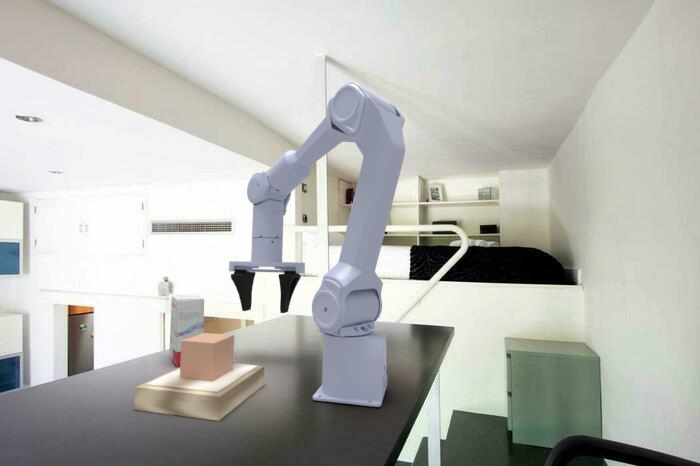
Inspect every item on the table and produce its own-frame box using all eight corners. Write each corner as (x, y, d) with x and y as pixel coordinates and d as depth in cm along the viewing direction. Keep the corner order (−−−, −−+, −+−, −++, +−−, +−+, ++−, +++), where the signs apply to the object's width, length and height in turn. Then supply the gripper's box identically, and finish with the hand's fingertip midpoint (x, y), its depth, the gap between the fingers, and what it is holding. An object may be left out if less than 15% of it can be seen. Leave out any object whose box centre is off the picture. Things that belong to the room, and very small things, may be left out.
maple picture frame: (264, 384, 53) (264, 364, 53) (218, 420, 41) (219, 394, 42) (195, 377, 56) (195, 358, 56) (134, 409, 44) (135, 385, 44)
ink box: (204, 363, 63) (207, 298, 64) (173, 368, 60) (176, 299, 61) (195, 352, 70) (198, 293, 71) (167, 355, 67) (170, 294, 68)
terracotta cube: (232, 369, 51) (234, 335, 51) (212, 381, 46) (214, 343, 46) (202, 366, 52) (204, 332, 52) (179, 378, 47) (181, 340, 47)
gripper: (310, 240, 68) (309, 310, 67) (243, 239, 71) (240, 306, 70) (297, 238, 61) (295, 316, 60) (224, 237, 64) (220, 311, 63)
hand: (265, 311), depth 64 cm, fingers open, 7 cm apart
